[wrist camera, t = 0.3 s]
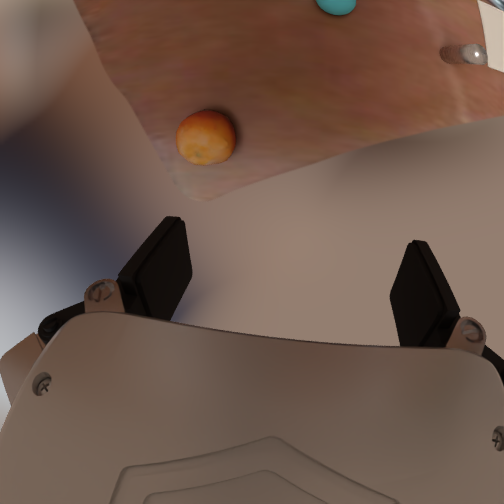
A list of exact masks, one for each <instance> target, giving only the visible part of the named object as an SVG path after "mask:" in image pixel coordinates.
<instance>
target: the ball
mask: <svg viewBox="0 0 504 504" xmlns="http://www.w3.org/2000/svg"><path fill="white" fill-rule="evenodd" d="M316 2H317V4H318V5H319V6H320V8H321V9H323V10H324V11H325V12H327V13H330V14H333V15H345V14H348V13H349V12H351V11H352V10H353V9H354V7H355V5H356V0H316Z"/></svg>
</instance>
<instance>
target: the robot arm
mask: <svg viewBox="0 0 504 504" xmlns="http://www.w3.org/2000/svg"><path fill="white" fill-rule="evenodd" d="M118 276H119V277H118V279H117V280H116V281H114V280H112V279H102V280H98V281H96V282H94V283H93V284H91V285H90V286H89V287H88V288H87V289H86V291H85V293H84V301H83V302H80V303H78V304H75V305H73V306H70V307H68V308H65V309H63V310H60V311H58V312H56V313H53V314H51V315H49V316H47V317H46V318H45V319H44V320H43V321H42V322H41V323H40V325H39V328H38V334H35V333H34V332H33V333H32V334H30V335H29V336H28V337H26V338H25V339H24V340H22V341H21V342H20V343H18V344H17V345H15V346H14V347H13V348H12V349H10V350H9V351H7V352H6V353H5V354H4V355H3V356H2V358H1V360H0V374H1V377H2V380H3V383H4V387H5V389H6V393H7V395H8V398H9V401H10V404H11V408H10V410H9V413H8V415H7V417H6V420H5V422H4V425H3V427H2V429H1V432H0V504H504V360H503V359H502V358H501V357H500V356H498V355H497V354H496V353H495V352H493V351H492V350H491V349H490V348H488V347H487V346H486V345H485V342H486V332H485V330H484V328H483V327H482V325H481V324H480V323H479V322H478V321H477V320H475V319H473V318H471V317H462V318H461V317H460V315H459V312H460V308H459V306H458V304H457V302H456V299H455V297H454V295H453V292H452V290H451V288H450V286H449V284H448V282H447V280H446V278H445V276H444V274H443V272H442V270H441V268H440V266H439V264H438V262H437V260H436V258H435V256H434V255H433V253H432V251H431V249H430V247H429V245H428V244H427V242H425V241H419V240H413V241H412V243H409V244H408V245H407V248H406V251H405V254H404V257H403V260H402V263H401V265H400V268H399V271H398V274H397V277H396V279H395V281H394V284H393V287H392V289H391V292H390V302H391V305H392V310H393V314H394V319H395V323H396V328H397V332H398V337H399V342H400V346H377V345H357V344H341V343H328V342H316V341H305V340H295V339H286V338H277V337H268V336H260V335H252V334H245V333H238V332H231V331H225V330H218V329H212V328H205V327H200V326H194V325H189V324H183V323H178V322H172V321H170V320H171V318H172V316H173V314H174V311H175V310H176V308H177V305H178V303H179V302H180V300H181V298H182V296H183V294H184V292H185V290H186V288H187V286H188V284H189V282H190V280H191V278H192V265H191V260H190V253H189V247H188V241H187V235H186V228H185V222H184V221H182V220H181V218H180V217H173V216H167V217H165V218H164V219H163V221H162V222H161V223H160V224H159V225H158V226H157V227H156V229H155V230H154V231H153V232H152V233H151V235H150V236H149V237H148V238H147V239H146V240H145V242H144V243H143V244H142V245H141V246H140V248H139V249H138V250H137V251H136V252H135V254H134V255H133V256H132V257H131V259H130V260H129V261H128V262H127V264H126V265H125V266H124V267H123V269H122V270H121V271H120V273H119V274H118Z"/></svg>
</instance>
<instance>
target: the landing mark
mask: <svg viewBox="0 0 504 504" xmlns="http://www.w3.org/2000/svg"><path fill="white" fill-rule="evenodd" d="M477 3H478V7H479V11H480V16H481V21H482V26H483V31H484V38H485V45H486V52H487V55H488V61H487V63H488V67H490V68H493V69H496V70H498V71H501V72H504V12H503V11H501V10H499V9H497V8H495V7H493V6H491V5H489V4H486V3H484V2H482V1H479V0H477Z"/></svg>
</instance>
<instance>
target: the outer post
mask: <svg viewBox="0 0 504 504" xmlns="http://www.w3.org/2000/svg"><path fill="white" fill-rule="evenodd" d="M440 56H441V58H442V60H443V61H444V62H446V63H449V64H481V65H484V64H486V63H487V61H488V55H487V52H486V50H485V49H484V48H483V47H482V46H481V45H479V44H468V45H457V46H448V47H442V48H441V49H440Z"/></svg>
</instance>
